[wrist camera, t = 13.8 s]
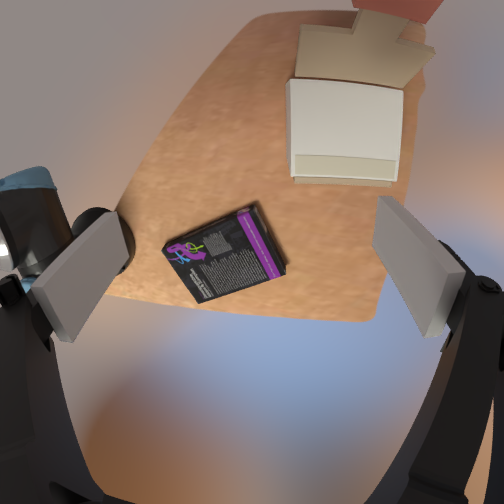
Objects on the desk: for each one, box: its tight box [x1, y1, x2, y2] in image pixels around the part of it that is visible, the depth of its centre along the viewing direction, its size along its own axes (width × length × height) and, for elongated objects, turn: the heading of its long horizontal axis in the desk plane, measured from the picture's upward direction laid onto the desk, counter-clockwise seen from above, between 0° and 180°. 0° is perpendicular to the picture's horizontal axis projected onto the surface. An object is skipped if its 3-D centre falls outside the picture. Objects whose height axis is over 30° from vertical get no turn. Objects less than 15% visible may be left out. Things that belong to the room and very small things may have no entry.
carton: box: [285, 79, 403, 187], centre depth 36 cm, size 14×13×12 cm
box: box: [161, 205, 286, 304], centre depth 53 cm, size 14×4×20 cm
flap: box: [295, 0, 443, 88], centre depth 17 cm, size 13×18×2 cm
